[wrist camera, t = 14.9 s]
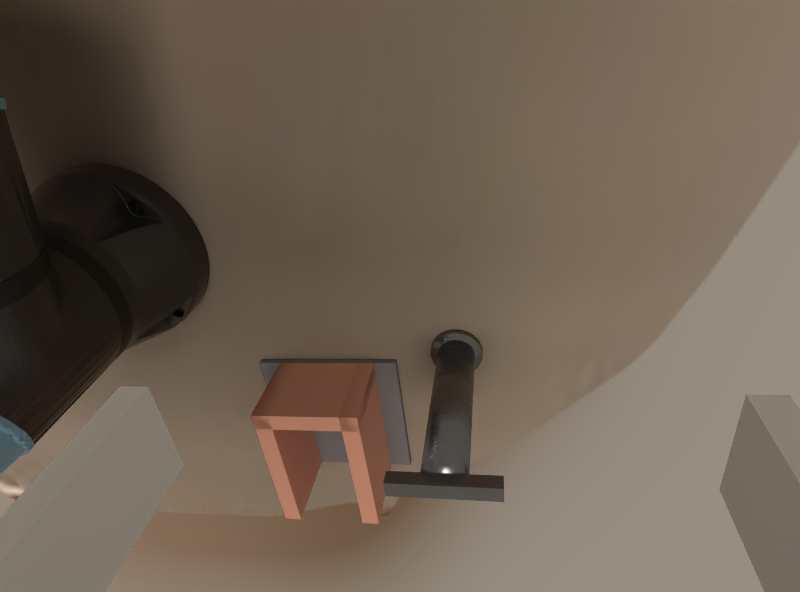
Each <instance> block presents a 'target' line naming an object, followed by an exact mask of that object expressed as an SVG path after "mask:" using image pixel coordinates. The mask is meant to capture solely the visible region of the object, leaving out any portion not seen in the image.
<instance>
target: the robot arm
mask: <svg viewBox="0 0 800 592" xmlns="http://www.w3.org/2000/svg"><path fill="white" fill-rule="evenodd" d="M4 109H7V105H6V100H5V98H4V97H2V96H1V95H0V474H1V473H2V472H3V471H4V470H5V469H7V468H8V467H9V466H10V465H11V464H12V463H13V462H14V461H15V460H16V459H17V458H19V457H20V456H23V455H24V454H26V453H28V452H30V450H31V449H32V448H33V447H34V445H35V444H36V442H37V441H38V440H39V439H40V438H41V437H42V436H43V435H44V434H45V433H46V432H47V431H48V430H49V429H50V428H51V427H52V426H53V425H54V424H55V422H56V421H57V420H58V419H59V418H60V417H61V416H62V415H63V414H64V413H65V412H66V411H67V410H68V409H69V408H70V407H71V406H72V405H73V404H74V402H75V401H76V400H77V399H78V398H79V397H80V396H81V395H82V394H83V393H84V392H85V391H86V390H87V389H88V388H89V387H90V386H91V385H92V383H93V382H94V381H95V380H96V379H97V378H98V377H99V376H100V375H101V374H102V373H103V372H104V371H105V370H106V369H107V368H108V367H109V366H110V365H111V363H112V362H113V361H114V360H115V359H116V358H117V357H118V356H119V355H120V354H121V353H122V352H123V351H124V350H125V349H127V348H130V347H132V346H134V345H136V344H139V343H141V342H143V341H145V340H148V339H150V338H152V337H154V336H156V335H159V334H161V333H163V332H165V331H168V330H170V329H172V328H173V327H175V326H176V325H178V324H179V323H180V322H182V321H183V320H184V319H185V318H186V317H187V316H188V315H189V314H190V312H191V311H192V310H193V309H194V308H195V307H196V306H197V305H198V303H199V302H200V301H201V299H202V297H203V295H204V293H205V291H206V287H207V283H208V276H209V267H208V259H207V254H206V250H205V247H204V244H203V241H202V239H201V237H200V235H199V233H198V231H197V229H196V227H195V225H194V224H193V222H192V221H191V219H190V218H189V216H188V215H187V214H186V213H185V211H184V210H183V209H182V208H181V207H180V205H179V204H178V203H177V202H176V201H175V200H174V199H173V198H172V197H170V196H169V195H168V194H167V193H166V192H165V191H163V190H162V189H161V188H159V187H158V186H157V185H155V184H154V183H152V182H150V181H149V180H147V179H145V178H144V177H142V176H139V175H137V174H135V173H133V172H130V171H128V170H125V169H122V168H118V167H114V166H109V165H99V164H92V165H83V166H78V167H75V168H72V169H69V170H67V171H65V172H63V173H61V174H58V175H56V176H54V177H52V178H50V179H48V180H47V181H45V182H44V183H42V184H41V185H40V186H39V187H38V188H36V189H35V190H34V192H33V193H32V194H30V191H29V188H28V185H27V182H26V179H25V175H24V172H23V169H22V166H21V163H20V159H19V156H18V153H17V150H16V147H15V143H14V140H13V137H12V134H11V131H10V128H9V124H8V121H7V117H6V114H5V111H4ZM183 467H184V465H183V463H182V461H181V458H180V456H179V454H178V452H177V450H176V447H175V445H174V443H173V441H172V439H171V436H170V434H169V432H168V430H167V428H166V425H165V423H164V421H163V419H162V416H161V414H160V412H159V410H158V408H157V405H156V403H155V401H154V399H153V397H152V394H151V392H150V390H149V388H148V387H134V386H120V387H119V388H118V389H117V390H116V391H115V392H114V393H113V395H112V396H111V397H110V398H109V399H108V400H107V401H106V402H105V403H104V404H103V406H102V407H101V408H100V409H99V410H98V411H97V412H96V413H95V414H94V415H93V417H92V418H91V419H90V420H89V421H88V422H87V423H86V424H85V425H84V426H83V428H82V429H81V430H80V431H79V432H78V433H77V434H76V435H75V436H74V437H73V439H72V440H71V441H70V442H69V443H68V444H67V445H66V446H65V447H64V448H63V449H62V451H61V452H60V453H59V454H58V455H57V456H56V457H55V458H54V459H53V460H52V462H51V463H50V464H49V465H48V466H47V467H46V468H45V469H44V470H43V471H42V473H41V474H40V475H39V476H38V477H37V478H36V479H35V480H34V481H33V482H32V484H31V485H30V486H29V487H28V488H27V489H26V490H25V491H24V492H23V493H22V494H21V496H20V497H19V498H18V499H17V500H16V501H15V502H14V503H13V504H12V505H11V507H10V508H9V509H8V510H7V511H6V512H5V513H4V514H3V515H2V516H1V518H0V592H105V590H106V589H107V587H108V585H109V584H110V582H111V581H112V579H113V578H114V576H115V574H116V573H117V571H118V570H119V568H120V567H121V565H122V563H123V562H124V560H125V559H126V557H127V555H128V554H129V552H130V551H131V549H132V548H133V546H134V544H135V543H136V541H137V539H138V538H139V536H140V535H141V533H142V532H143V530H144V529H145V527H146V525H147V524H148V522H149V521H150V519H151V518H152V516H153V514H154V513H155V511H156V510H157V508H158V506H159V505H160V503H161V502H162V500H163V499H164V497H165V495H166V494H167V492H168V491H169V489H170V487H171V486H172V484H173V483H174V481H175V480H176V478H177V476H178V475H179V473H180V472H181V470H182V468H183ZM720 492H721V494H722V496H723V498H724V501H725V503H726V505H727V508H728V510H729V512H730V515H731V517H732V519H733V521H734V524H735V526H736V528H737V530H738V533H739V535H740V537H741V539H742V542H743V544H744V546H745V549H746V551H747V553H748V555H749V558H750V560H751V562H752V564H753V566H754V569H755V571H756V574H757V576H758V578H759V580H760V583H761V585H762V587H763V589H764V592H800V409H799V407H798V406H797V405H796V403H795V402H794V400H793V399H792V397H791V396H790V395H746V397H745V401H744V404H743V408H742V411H741V415H740V419H739V422H738V426H737V429H736V433H735V436H734V440H733V443H732V447H731V450H730V454H729V458H728V461H727V465H726V468H725V472H724V475H723V479H722V482H721V486H720Z"/></svg>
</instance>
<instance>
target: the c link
mask: <svg viewBox="0 0 800 592" xmlns="http://www.w3.org/2000/svg"><path fill="white" fill-rule="evenodd" d="M251 417H252V420H253V423H254V426H255V429H256V432H257V435H258V438H259V441H260V444H261V447H262V450H263V452H264V455H265V458H266V461H267V464H268V467H269V470H270V473H271V476H272V479H273V482H274V485H275V487H276V490H277V493H278V496H279V499H280V502H281V505H282V508H283V511H284V514H285V517H286V518H289V519H301V518H302V515H303V512H304V510H305V507H306V504H307V501H308V498H309V496H310V493H311V490H312V487H313V484H314V481H315V479H316V476H317V473H318V470H319V467H320V464H321V462H322V461H321V457H320V454H319V450H318V446H317V442H316V439H315V435H314V431H342V435H343V439H344V443H345V448H346V452H347V456H348V461H349V465H350V469H351V473H352V478H353V482H354V486H355V491H356V495H357V499H358V504H359V507H360V512H361V517H362V521H363V523H374V524H379V521H380V516H381V511H382V507H383V502H384V497H385V490H384V485H383V482H384V477H385V473H386V471H390V468H391V459H390V453H389V448H388V442H387V436H386V430H385V425H384V419H383V413H382V408H381V402H380V396H379V391H378V385H377V379H376V373H375V368H374V363H280V364H279V366H278V368H277V369H276V371H275V373H274V375H273V377H272V378H271V380H270V382H269V384H268V386H267V388H266V389H265V391H264V393H263V395H262V397H261V398H260V400H259V402H258V404H257V406H256V407H255V409H254V411H253V413H252V415H251Z"/></svg>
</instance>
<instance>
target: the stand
mask: <svg viewBox="0 0 800 592" xmlns="http://www.w3.org/2000/svg"><path fill="white" fill-rule="evenodd" d="M431 357H432V360H433V362H434V364H435V365H436V369H435V376H434V383H433V389H432V396H431V403H430V410H429V417H428V424H427V430H426V437H425V444H424V451H423V458H422V464H421V471H420V472H397V471H386V473H385V477H384V482H383V485H384V490H385V495H386V496H397V497H418V498H437V499H438V498H439V499H457V500H458V499H459V500H477V501H498V502H504V477H503V476H494V475H470V474H469V469H470V449H471V428H472V407H473V386H474V370H475V369H476V368H477V367H478V366H479V364H480V362H481V360H482V347H481V344H480V342H479V341H478V340H477V338H476V337H474V336H473V335H472V334H470V333H468V332H465V331H461V330H450V331H446V332H443V333H442V334H440V335H439V336H437V337H436V339H435V340H434V342H433V344H432V349H431Z"/></svg>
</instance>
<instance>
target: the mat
mask: <svg viewBox="0 0 800 592" xmlns="http://www.w3.org/2000/svg"><path fill="white" fill-rule="evenodd" d="M280 363H374V368H375V373H376V379H377V385H378V391H379V396H380V402H381V408H382V413H383V419H384V425H385V430H386V436H387V442H388V448H389V453H390V459H391V464H404V465H411V457H410V450H409V443H408V436H407V429H406V422H405V416H404V409H403V402H402V395H401V388H400V381H399V375H398V368H397V361H396V360H261V362H260V364H261V368H262V371H263V374H264V377H265V381H266V384H267V386H268V384H269V382H270V380H271V378H272V377H273V375H274V373H275V371H276V369H277V368H278V366H279V364H280ZM314 435H315V439H316V442H317V446H318V450H319V454H320V457H321V461H326V462H349V461H348V456H347V452H346V448H345V443H344V439H343V435H342V431H314Z"/></svg>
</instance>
